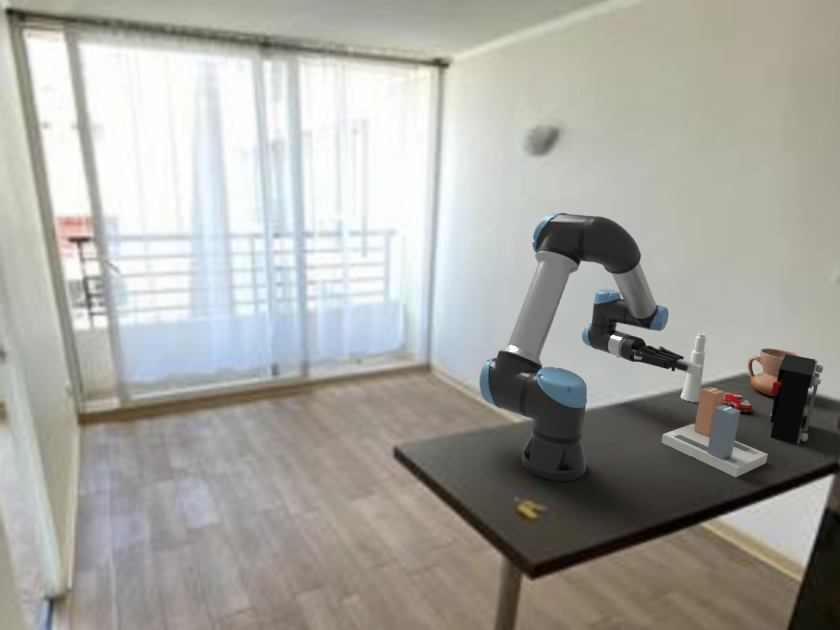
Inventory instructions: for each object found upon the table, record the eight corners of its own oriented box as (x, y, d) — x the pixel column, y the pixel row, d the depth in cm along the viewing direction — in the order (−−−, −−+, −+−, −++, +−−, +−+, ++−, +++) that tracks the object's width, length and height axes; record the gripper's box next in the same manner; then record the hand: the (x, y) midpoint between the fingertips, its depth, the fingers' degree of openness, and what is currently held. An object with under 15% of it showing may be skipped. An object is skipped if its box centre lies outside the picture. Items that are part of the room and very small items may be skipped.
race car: (714, 397, 184) (716, 386, 183) (731, 398, 184) (733, 387, 183) (735, 414, 171) (737, 402, 170) (753, 415, 171) (755, 403, 170)
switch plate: (661, 442, 150) (662, 433, 149) (692, 431, 157) (693, 423, 157) (735, 477, 134) (737, 467, 133) (765, 463, 141) (767, 453, 140)
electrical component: (805, 446, 151) (821, 377, 146) (762, 435, 157) (776, 368, 152) (809, 425, 164) (824, 361, 159) (769, 415, 170) (782, 353, 165)
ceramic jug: (811, 397, 186) (819, 356, 183) (793, 405, 178) (801, 363, 175) (754, 381, 200) (760, 343, 197) (734, 388, 192) (741, 349, 189)
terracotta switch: (694, 430, 152) (701, 388, 149) (702, 427, 154) (709, 385, 151) (708, 436, 149) (715, 393, 145) (716, 433, 151) (724, 390, 148)
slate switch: (707, 452, 140) (715, 407, 137) (716, 448, 142) (724, 404, 139) (722, 459, 136) (731, 413, 133) (731, 455, 139) (740, 409, 136)
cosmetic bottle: (679, 399, 180) (690, 334, 174) (681, 393, 185) (692, 330, 179) (700, 404, 177) (711, 337, 171) (701, 398, 182) (712, 333, 176)
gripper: (639, 355, 175) (712, 379, 156) (612, 361, 168) (684, 388, 149) (642, 332, 173) (716, 354, 154) (614, 338, 166) (688, 362, 147)
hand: (700, 371), depth 151 cm, fingers closed
